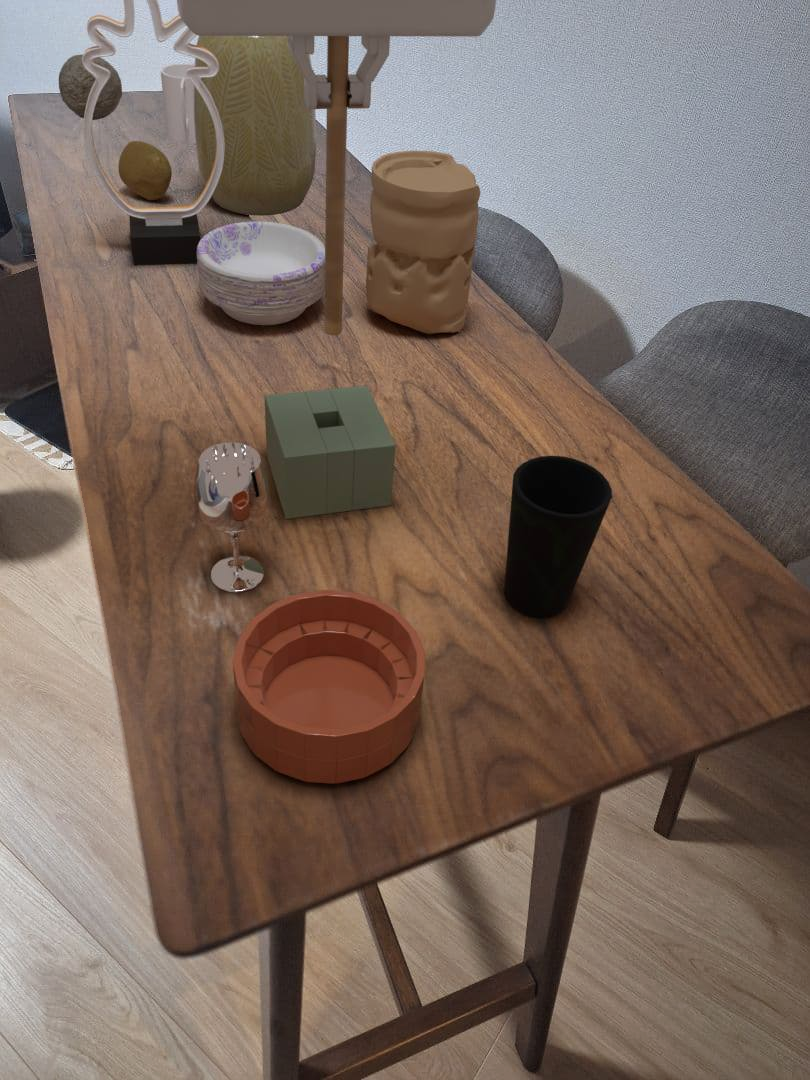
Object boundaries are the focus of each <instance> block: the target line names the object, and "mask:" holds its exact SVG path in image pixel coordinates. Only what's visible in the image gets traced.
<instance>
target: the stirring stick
mask: <svg viewBox="0 0 810 1080" xmlns="http://www.w3.org/2000/svg"><path fill="white" fill-rule="evenodd" d="M326 37H327V39H326V40H327V45H326V47H327V49H326V50H327V52H326V53H327V54H326V55H327V56H326V77H327V79H328V80H329V81H330V82H331V94H330V95H329V99H330V100H331V105H330V109H326V130H325V131H326V135H325V137H326V139H325V140H326V141H325V144H326V146H325V219H324V220H325V227H324V229H325V234H324V235H325V236H324V237H325V238H324V239H325V240H324V247H325V291H324V313H323V315H324V321H323V324H324V326H323V327H324V329H323V331H324V333H325V334H326V335H329V336H338V335H341V333H342V332H343V299H344V298H343V297H344V295H343V294H344V292H343V291H344V257H345V256H344V255H345V253H344V252H345V216H346V215H345V213H346V212H345V211H346V176H347V140H348V139H347V138H348V137H347V134H348V107H347V98H348V75H349V58H350V57H349V55H350V53H349V51H350V36H326Z"/></svg>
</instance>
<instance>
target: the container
mask: <svg viewBox="0 0 810 1080" xmlns="http://www.w3.org/2000/svg"><path fill="white" fill-rule="evenodd" d="M370 175H371V179H370V181H371V185H372V188H373V189H372V191H371V194H370V201H369V211H370V222H371V229H372V236H373V241H374V242H375V243H376V244H370V245H369V246H368V247H367V257H366V258H367V259H366V275H365V276H366V277H365V278H366V279H365V283H366V284H365V294H366V295H365V296H366V302H367V305H368V307H367V309H368V310H370V311H372V312H373V313H375V314H377V315H381V316H382V317H385V318H386V319H387V320H389V321H390V322H393V323H396V324H399V325H402V326H405V327H408V328H410V329H413V330H415V331H418V332H420V333H423V334H426V335H433V334H440V333H441V334H442V333H453V334H454V333H460V332H461V331H462V329H463V328H464V327H465V321H466V318H467V305H468V303H469V295H470V288H471V279H472V273H473V265H474V256H475V250H476V242H477V234H478V227H479V218H480V213H479V200H480V197H481V188H480V186H479V184H477V180H476V175H475V174H474V172H472V171H471V170H470V169H469V167H467V166H466V165H465V164H463V163H458V162H457V161H456V160H455V158H454V156H453V155H451V153H445V152H440V151H430V150H402V151H396V152H390V153H387V154H383V155H381V156H380V157H378V158H377V159H376V160H375V161H373V163H372V166H371V174H370Z"/></svg>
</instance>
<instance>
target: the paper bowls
mask: <svg viewBox="0 0 810 1080" xmlns="http://www.w3.org/2000/svg"><path fill="white" fill-rule="evenodd" d="M200 239H201V240H200V242H199V244H198V246H197V263H196V264H197V271H198V272H197V274H198V286H199V290H200V291H201V293H202V295H203V296H204V297H205V299H207V300H208V301H209V302H210V303H212V304H213V305H215V306H217V307H218V308H219V307H220V308H221V309H222V310H223V312H224V313H225V314H226V315H228V316H229V317H230V318H232V319H233V320H236V321H237V322H241V323H243V324H249V325H253V326H254V325H255V326H274V325H281V324H284V323H288V322H292V321H293V320H295V319H296V318H298V317H299V316H301V315H302V314H303V313H304V311H305V310H306V308H308V307H311V305H313V304H314V303H316V302H317V301H319V300H320V299H321V298H322V296H323V295H324V294H325V244H324V242H322V241H321V240H320V239H319V237H317V236H316V235H315V234H312V233H311V232H310V231H307V230H306V229H302V228H300V227H297V226H293V225H290V224H285V223H280V222H275V221H274V222H273V221H241V222H235V223H229V224H226V225H222V226H220V227H217V228H215V229H213V230H210V231H209V232H208V233H206V234H204V236H202V238H200Z"/></svg>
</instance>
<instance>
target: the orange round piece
mask: <svg viewBox="0 0 810 1080" xmlns="http://www.w3.org/2000/svg"><path fill="white" fill-rule="evenodd" d="M232 667H233V668H232V670H233V671H232V672H233V683H234V694H235V695H234V696H235V708H236V715H237V719H238V726H239V730H240V731H239V732H240V734H241V737H243V739H244V741H245V742H246V743H247V746H249V748H250V750H251V751H252V753H253V754H254V755H255V756H256V757H257V758H259V759H260V760H261V761H262V762H264V763H265V764H266V765H267V766H269V767H270V768H271V769H273V770H274V771H276V772H277V773H280V774H283V775H285V776H288V777H291V778H294V779H296V780H300V781H303V782H306V783H319V784H341V783H346V782H350V781H355V780H361V779H364V778H367V777H369V776H371V775H372V774H374V773H376V772H378V771H380V770H382V769H383V768H385V767H387V766H389V765H391V764H392V763H393V762H394V761H395V760H396V759H397V758H398V757H399V756H400V755H401V753H403V752H404V751H405V750H406V748H407V747H408V746H409V745H410V743H411V742H412V741H411V740H412V739H413V737H414V734H415V731H416V729H417V727H418V725H419V720H420V712H421V705H422V697H423V692H424V691H423V690H424V681H425V675H426V653H425V649H424V646H423V644H422V642H421V639H420V637H419V634H418V632H417V631H416V629H415V628H414V627H413V626H412V625H411V624H410V622H409V621H408V620H407V619H406V618H405V617H404V615H402V613H400V612H399V611H397V610H395V609H394V608H393V607H391V606H389V605H387V604H386V603H384V602H382V601H381V600H379V599H377V598H374V597H371V596H367V595H364V594H362V593H357V592H354V591H348V590H335V589H334V590H332V589H321V590H313V591H306V592H300V593H296V594H293V595H290V596H288V597H286V598H283V599H281V600H279V601H276V602H274V603H272V604H270V605H269V606H267V607H266V608H265V609H264V610H262V611H261V612H260V613H258V614H257V615H256V616H254V617H253V618H252V619H251V620H250V621H249V623H248V624H247V625H246V627H245V629H244V630H243V632H242V633H241V634H240V636H239V637H238V639H237V642H236V647H235V651H234V655H233V660H232Z"/></svg>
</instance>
